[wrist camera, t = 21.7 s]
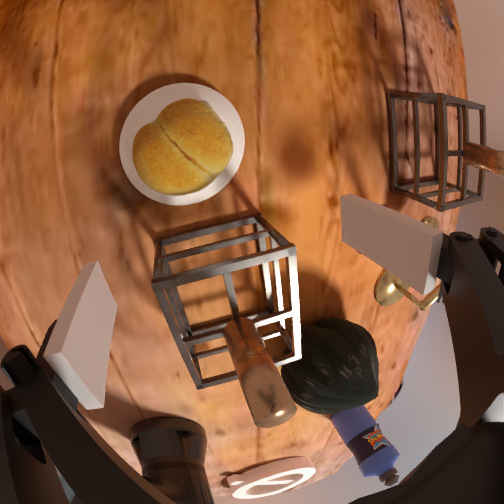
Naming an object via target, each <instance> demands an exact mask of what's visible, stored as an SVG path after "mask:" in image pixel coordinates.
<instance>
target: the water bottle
mask: <svg viewBox="0 0 504 504" xmlns="http://www.w3.org/2000/svg"><path fill="white" fill-rule="evenodd" d="M331 421H332V423H333V425H334V426H335V428H336V430H337V431H338V433H339V435H340V436H341V438H342V440H343V441H344V443H345V444H346V446H347V447H348V448H349V449H350V450H351V452H352V453H353V454H354V456H355V458H356V461H357V463H358V465H359V469H360V470H361V472H362V473H363V475H364V477H369V476H380V477H379V479H380V481H381V482H384V481H385V485H386V486H392V485H394V484H395V483H397V482H398V479H399V475H395V474H396V473H397V470H396V469H395V468H393V466H394V463H395V461H396V460H397V458H398V456H399V453H398V451H397V450H396V449H395V447H394V446H393V445H392V444H391V443H390V442H389V441H388V440H387V439H386V438H385V437H384V436H383V435H382V433H381V430H380V428H379V426H378V424H377V423H376V422H375V420H374V419H373V417H372V416H371V414H370V413H369V411H368V410H367V409H366V407H365V406H364V405H362V406H359V407H356V408H354V409H350V410H346V411H342V412H339V413H334V414H333V415H332V416H331Z"/></svg>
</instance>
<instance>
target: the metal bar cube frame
mask: <svg viewBox="0 0 504 504" xmlns="http://www.w3.org/2000/svg"><path fill="white" fill-rule="evenodd" d="M253 223H255V226H256V232H254V233H250V234H246V235H242V236H238V237H234V238H230V239H226V240H222V241H218V242H214V243H210V244H206V245H202V246H198V247H194V248H190V249H186V250H182V251H179V252H175V253H171V254H166V251H165V248H164V246H165V245H169V244H173V243H177V242H181V241H184V240H188V239H192V238H196V237H200V236H204V235H208V234H212V233H216V232H220V231H224V230H228V229H232V228H236V227H241V226H245V225H249V224H253ZM267 236H269V238H270V246H271V249H269V250H266V242H265V237H267ZM255 239H257V240H258V247H259V252H257V253H253V254H250V255H246V256H242V257H238V258H234V259H230V260H227V261H223V262H219V263H215V264H211V265H207V266H204V267H200V268H196V269H192V270H188V271H184V272H181V273H177V274H172V271H171V268H170V264H169V261H173V260H177V259H181V258H184V257H188V256H192V255H196V254H200V253H204V252H208V251H212V250H215V249H219V248H223V247H227V246H231V245H235V244H239V243H243V242H247V241H251V240H255ZM277 243H278V244H279V246H280V247H277ZM296 254H297V252H296V246H295V245H294V244H293V243H290V242H289V241H287V240H286V239H285V238H284V237H283V236H282V235H281V234H280V233H279V232H278V231H277V230H276V229H275V228H274V227H273V226H272V225H271V224H270V223H268V222H267V221H266V220H265V219H264V218H263V216H262V214H261V213H258V214H254V215H251V216H247V217H242V218H238V219H234V220H230V221H225V222H221V223H217V224H213V225H209V226H205V227H201V228H197V229H193V230H189V231H185V232H181V233H177V234H173V235H170V236H166V237H160V238H156V239H155V257H154V273H153V279H152V287H153V289H154V292H155V293H156V296H157V298H158V301H159V303H160V306H161V308H162V311H163V314H164V316H165V318H166V321H167V323H168V326H169V328H170V330H171V333H172V335H173V338H174V340H175V342H176V344H177V347H178V349H179V351H180V353H181V356H182V358H183V360H184V362H185V364H186V366H187V368H188V371H189V373H190V375H191V377H192V379H193V381H194V383H195V386H196V388H197V390H199V389H203V388H206V387H210V386H214V385H218V384H222V383H225V382H229V381H233V380H236V379H239V382H240V384H241V387H242V390H243V393H244V396H245V398H246V401H247V404H248V407H249V409H250V412H251V415H252V417H253V420H254V423H255V425H256V426H258V427H262V428H269V427H274V426H277V425H280V424H282V423H284V422H286V421H288V420H289V419H291V418H292V417H293V416H294V415H295V413H296V411H297V407H296V405H295V403H294V401H293V399H292V397H291V395H290V393H289V392H288V390H287V388H286V386H285V384H284V382H283V380H282V378H281V376H280V374H279V372H278V370H277V368H276V367H278V366H281V365H284V364H287V363H289V362H292V361H296V360H299V359H301V358H302V354H301V334H300V311H299V292H298V275H297V260H296ZM284 257H285V258H286V269H287V281H288V293H289V305H290V308H287V309H284V310H283V300H282V290H281V279H280V270H279V260H278V259H281V258H284ZM270 261H272V263H273V271H274V280H275V289H276V297H277V307H278V312H275V311H274V306H273V298H272V290H271V282H270V274H269V266H268V262H270ZM259 264H261V268H262V275H263V282H264V289H265V296H266V304H267V308H265V309H262V310H259V311H255V312H252V313H248V314H245V315H241V316H240V314H239V309H238V305H237V300H236V295H235V291H234V286H233V281H232V276H231V272H233V271H236V270H240V269H244V268H248V267H251V266H255V265H259ZM221 274H223V278H224V283H225V287H226V291H227V296H228V300H229V304H230V308H231V313H232V317H233V318H231V319H227V320H224V321H220V322H216V323H213V324H209V325H205V326H201V327H198V328H194V329H191V327H190V324H189V321H188V318H187V316H186V313H185V310H184V307H183V304H182V301H181V298H180V295H179V292H178V289H177V286H179V285H183V284H187V283H191V282H195V281H199V280H202V279H206V278H210V277H214V276H218V275H221ZM166 293H167V294H166ZM167 296H168V297H167ZM170 304H171V305H170ZM171 307H172V308H171ZM173 312H174V313H173ZM174 315H175V316H174ZM288 317H290V319H291V333H292V339H291V337H290V336H289V334H288V333H287V331H286V329H285V321H284V319H285V318H288ZM176 320H177V321H176ZM273 322H274V323H275V325H276V327H277V329H278V330H275V331H272V332H269V333H266V334H263V335H260V333H259V331H258V329H257V327H260V326H263V325H266V324H270V323H273ZM178 325H179V326H178ZM180 330H181V331H180ZM182 335H183V336H182ZM279 335H281V336H282V337H283V339H284V341H285V343H286V344H287V346H288V348H289V349H290V351H291V353H289V354H286V355H283V356H280V357H277V358H274V359H272V358H271V356H270V354H269V352H268V349H267V347H266V345H265V343H264V341H263V340H266V339H269V338H272V337H276V336H279ZM222 337H225V340H226V343H227V345H225V346H222V347H218V348H214V349H211V350H207V351H203V352H199V353H197V352H196V347H195V345H196V344H200V343H203V342H207V341H211V340H215V339H218V338H222ZM226 351H229V352H230V355H231V358H232V361H233V364H234V367H235V371H232V372H228V373H224V374H221V375H217V376H213V377H209V378H205V379H202V376H201V372H200V367H199V362H198V359H200V358H203V357H207V356H211V355H215V354H219V353H222V352H226ZM189 352H190V353H189Z"/></svg>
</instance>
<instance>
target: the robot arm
mask: <svg viewBox="0 0 504 504" xmlns="http://www.w3.org/2000/svg"><path fill="white" fill-rule="evenodd" d="M340 201H341V223H342V241H343V242H344V243H346V244H348V245H349V246H351V247H352V248H354V249H355V250H357V251H359V252H360V253H362V254H363V255H365V256H366V257H368V258H369V259H371V260H372V261H374V262H375V263H377V264H378V265H380V266H381V267H383V268H384V269H386V270H387V271H389V272H390V273H392V274H393V275H395V276H396V277H398V278H399V279H401V280H402V281H404V282H405V283H406V284H408V285H409V286H411V287H412V288H414V289H415V290H416V291H418V292H419V293H421V294H422V295H425V294H427V293H429V292H430V291H432V290H434V286H435V282H436V277H438V278H439V279H441V285H440V289H439V294H438V298H437V303H439V301H440V299H441V298H442V297H443V301H442V303H444V305H445V309H446V313H447V317H448V322H449V326H450V331H451V336H452V342H453V347H454V353H455V360H456V366H457V374H458V383H459V393H460V405H461V413H460V418H459V421H458V423H457V426H456V429H455V430H454V431H453V432H452V433H451V434H450V435H449V436H448V437H447V438H446V439H444V440H443V441H442V442H441V443H440V444H439V445H437V446H436V447H435V448H434V449H433V450H432V451H431V452H430V453H429V454H428V456H427V457H426V458H425V459H424V460H423V461H422V462H421V463H420V464H419V465H418V466H417V467H416V468H415V469H414V470H413V471H411V472H410V473H409V474H408V475H407V476H406V477H405V478H404V479H403V480H402V481H401V482H400V483H399V484H398V485H396V486H394V487H391V488H388V489H386V490H383V491H380V492H377V493H374V494H371V495H368V496H365V497H361V498H358V499H356V500H354V501H353V502H351V503H349V504H504V234H502V233H501V232H500V231H498V230H496V229H495V228H491V227H488V228H487V227H485V228H482V229H481V230H480V237H479V239H475V238H474V237H473V236H472V235H470V234H467V233H465V232H452V233H450V234H449V236H448V235H446V234H444V233H443V231H441V230H439V229H437V228H434V227H432V226H430V225H428V224H426V223H423V222H421V221H419V220H416V219H414V218H412V217H409V216H407V215H405V214H402V213H400V212H397V211H395V210H393V209H390V208H388V207H385V206H383V205H380V204H377V203H375V202H372V201H370V200H367V199H364V198H362V197H359V196H356V195H353V194H347V195H342V196H340ZM498 261H500V263H501V268H500V272H499V275H497V274H496V272H495V270H496V267H497V263H498ZM116 311H117V305H116V302H115V300H114V298H113V296H112V294H111V291H110V289H109V287H108V285H107V282H106V280H105V277H104V275H103V273H102V270H101V268H100V265H99V263H98V260H96V261H93V262H90V263H87V264H84V266H83V268H82V270H81V272H80V274H79V276H78V278H77V279H76V281H75V283H74V285H73V287H72V289H71V292H70V294H69V296H68V298H67V300H66V302H65V304H64V306H63V309H62V311H61V313H60V315H59V318H58V319H57V320H55V321H54V322H53V323H52V325H51V326H50V327H49V328H48V331H47V333H46V335H45V338H44V340H43V343H42V344H43V345H41V348H40V350H39V353H38V355H37V358H35V357H34V356H33V354H32V353H31V351H30V350H29V348H28V347H27V346H26V345H19V346H16V347H14V348H12V349H11V350H10V351H9V352H8V353H7V354H6V355H5V356H4V358H3V359H2V362H1V370H2V371H3V372H4V374H5V375H6V376H7V377H8V378H9V380H10V381H11V382H12V383H13V385H14V386H15V387H14V388H11V389H9V390H7V391H5V390H4V389H3V388H2V387H1V385H0V504H214V500H213V497H212V493H211V490H210V486H209V483H208V479H207V475H206V472H205V468H204V462H205V454H206V447H207V437H206V433H205V430H204V428H203V427H202V426H200V425H199V424H197V423H195V422H193V421H190V420H186V419H181V418H169V417H165V418H153V419H148V420H144V421H142V422H139V423H137V424H136V425H134V426H133V427H132V429H131V431H130V441H131V445H132V447H133V450H134V452H135V454H136V456H137V459H138V461H139V463H140V465H141V468H142V475H143V476H141V475H140V474H139V473H137V472H136V471H135V470H134V469H133V468H132V467H131V466H130V465H129V464H128V463H127V462H126V461H124V460H123V459H122V458H121V457H120V456H119V455H118V454H117V453H116V452H115V451H114V450H113V449H112V448H111V447H110V446H109V444H108V443H107V442H106V441H105V440H104V439H103V438H102V437H101V436H100V435H99V434H98V433H97V431H96V430H95V429H94V428H93V427H92V426H91V425H90V423H89V422H88V421H87V420H86V419H85V417H84V416H83V415H82V414H81V413H80V412H79V411H78V410H77V404H78V401H79V402H80V403H81V404H82V405H83V406H84V407H85V408H86V409H87V410H90V409H98V408H104V401H105V389H106V379H107V370H108V361H109V354H110V347H111V340H112V333H113V327H114V322H115V316H116ZM53 462H54V463H53ZM54 464H55V465H54ZM55 466H56V467H57V469H58V470H59V472H60V473H61V477H60V479H59V476H58V474H57V471H56V468H55Z"/></svg>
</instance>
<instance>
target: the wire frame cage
mask: <svg viewBox="0 0 504 504" xmlns="http://www.w3.org/2000/svg"><path fill="white" fill-rule="evenodd" d="M386 95H387V102H388V114H389V129H390V155H391V186H390V191H391V192H393V193H394V192H395V193H398V194H401V195H403V196H406V197H408V198H411V199H413V200H416V201H418V202H420V203H423V204H425V205H427V206H430V207H432V208H434V209H436V210H437V211H439V212H443V211H446V210H449V209H452V208H456V207H459V206H463V205H466V204H470V203H473V202H476V201H481V200H482V198H483V188H484V177H485V171H488V172H491V173H494V174H496V175H499V176H502V177H504V151H501V150H498V149H495V148H491V147H487V146H486V118H485V105H481V104H477V103H474V102H471V101H468V100H464V99H461V98H457V97H454V96H450V95H446V94H443V93H386ZM394 99H399V100H407V101H412V108H413V123H414V183H407V184H401V185H397V174H398V159H397V128H396V113H395V101H394ZM417 102H422V103H428V104H434V105H435V119H436V179H433V180H427V181H420V182H419V171H420V139H419V116H418V103H417ZM446 106H452V107H457V119H458V150H448V130H447V109H446ZM461 108H462V116H463V150H462V116H461ZM468 109H476V110H479V111H480V112H479V113H480V144H476V143H471V142H469V121H468ZM448 156H458V168H457V184H456V185H454V184H451V183H448V182H447V162H448ZM462 156H463V168H462ZM468 165H469V166H472V167H475V168H478V169H479V182H478V192H477V193H475V192H473V191H470V190H467V179H468ZM461 168H462V184H461ZM460 184H461V187H460ZM432 185H439V188H438V190H437V191H432V192H427V193H422V194H419V188H420V187H426V186H432ZM446 187H448V189H446ZM409 189H414V193H412V192H409V191H406V190H409ZM455 191H459V192H461V195H460V199H456V200H452V201H449V202H445V196H446V193H451V192H455ZM437 195H438V201H437V202H434V201H432V200H429V199H427V197H432V196H437ZM466 195H469V196H468V197H466Z"/></svg>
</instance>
